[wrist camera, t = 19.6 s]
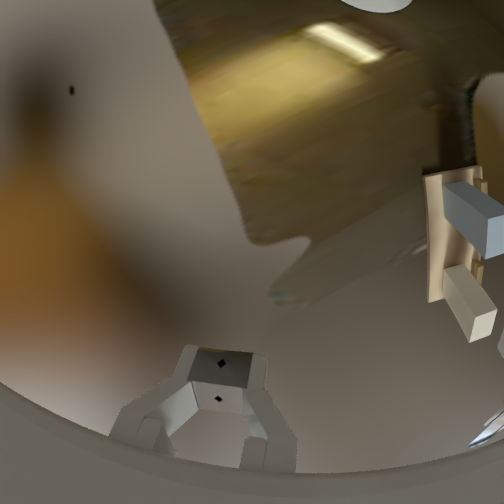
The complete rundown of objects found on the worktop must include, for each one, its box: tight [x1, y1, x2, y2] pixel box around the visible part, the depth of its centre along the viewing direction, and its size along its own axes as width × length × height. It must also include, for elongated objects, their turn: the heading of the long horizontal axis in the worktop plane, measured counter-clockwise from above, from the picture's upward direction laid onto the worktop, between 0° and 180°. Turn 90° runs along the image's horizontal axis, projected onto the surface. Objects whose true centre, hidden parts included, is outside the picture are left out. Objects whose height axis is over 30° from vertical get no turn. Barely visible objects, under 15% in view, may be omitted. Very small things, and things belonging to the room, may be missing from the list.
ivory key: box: [442, 264, 497, 342], centre depth 35 cm, size 4×5×12 cm
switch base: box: [422, 165, 487, 302], centre depth 36 cm, size 10×22×3 cm, turn 18°
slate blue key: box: [443, 181, 504, 259], centre depth 29 cm, size 4×5×12 cm
